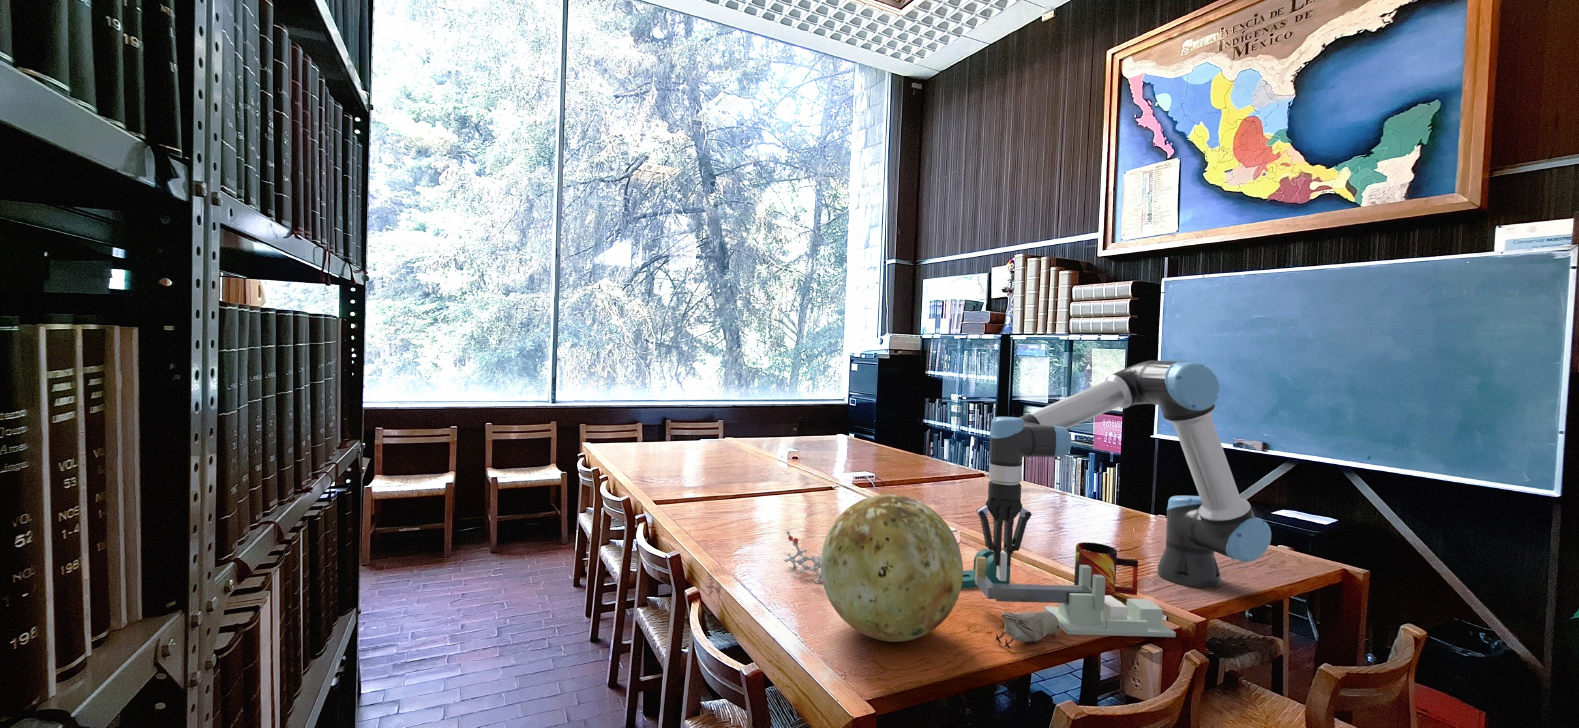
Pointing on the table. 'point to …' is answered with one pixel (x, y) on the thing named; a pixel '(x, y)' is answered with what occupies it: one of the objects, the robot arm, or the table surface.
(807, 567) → the molecular model
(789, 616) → the table surface
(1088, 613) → the stepped block fixture
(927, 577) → the globe
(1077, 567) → the mug
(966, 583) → the bracket
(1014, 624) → the decorative bird
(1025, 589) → the bent bar
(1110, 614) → the block
